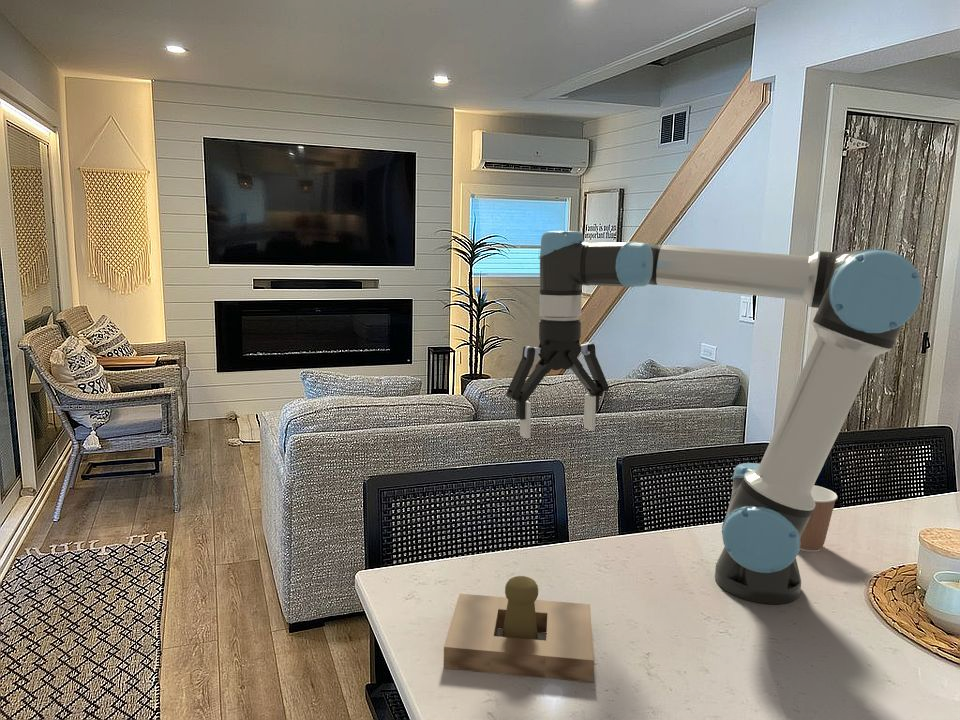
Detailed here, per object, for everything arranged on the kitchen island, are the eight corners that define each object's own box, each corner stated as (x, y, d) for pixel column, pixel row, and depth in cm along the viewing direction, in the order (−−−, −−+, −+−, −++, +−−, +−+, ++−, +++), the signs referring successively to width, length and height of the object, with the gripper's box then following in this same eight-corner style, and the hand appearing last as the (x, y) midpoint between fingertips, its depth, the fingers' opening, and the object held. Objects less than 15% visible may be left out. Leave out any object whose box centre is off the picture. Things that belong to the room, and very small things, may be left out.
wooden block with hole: (588, 623, 119) (590, 604, 118) (592, 682, 103) (594, 660, 103) (459, 612, 121) (459, 593, 121) (443, 668, 106) (443, 646, 105)
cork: (536, 658, 109) (539, 591, 107) (497, 652, 110) (499, 586, 108) (540, 637, 115) (543, 573, 113) (504, 632, 116) (506, 569, 114)
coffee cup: (827, 539, 155) (833, 487, 153) (834, 559, 145) (841, 503, 143) (777, 532, 158) (782, 480, 156) (780, 550, 149) (785, 496, 147)
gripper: (606, 314, 136) (603, 421, 139) (488, 318, 126) (487, 434, 130) (630, 317, 129) (626, 430, 133) (506, 322, 119) (505, 445, 123)
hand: (557, 432), depth 131 cm, fingers open, 13 cm apart
